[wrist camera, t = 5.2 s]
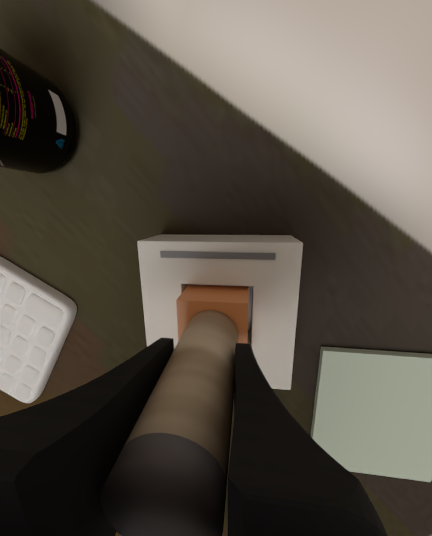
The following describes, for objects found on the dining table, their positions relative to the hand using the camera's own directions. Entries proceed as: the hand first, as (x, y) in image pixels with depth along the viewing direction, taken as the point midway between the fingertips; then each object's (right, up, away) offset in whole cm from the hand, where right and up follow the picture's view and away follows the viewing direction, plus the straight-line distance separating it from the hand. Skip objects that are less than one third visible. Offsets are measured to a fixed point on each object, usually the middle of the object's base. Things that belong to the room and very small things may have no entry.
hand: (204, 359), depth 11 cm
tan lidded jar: (0, +1, +2) cm, 2 cm away
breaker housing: (+1, +2, +8) cm, 8 cm away
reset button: (+1, +1, +5) cm, 5 cm away
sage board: (+14, -8, +9) cm, 18 cm away
